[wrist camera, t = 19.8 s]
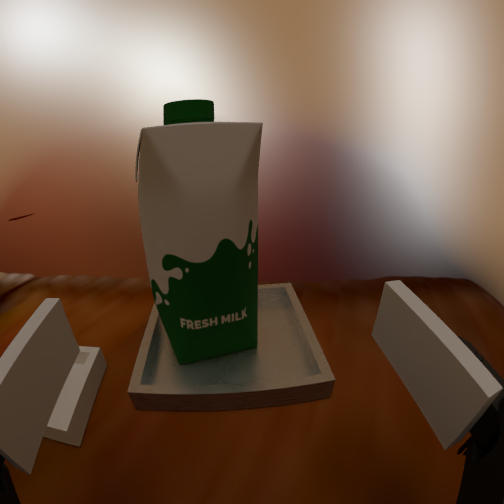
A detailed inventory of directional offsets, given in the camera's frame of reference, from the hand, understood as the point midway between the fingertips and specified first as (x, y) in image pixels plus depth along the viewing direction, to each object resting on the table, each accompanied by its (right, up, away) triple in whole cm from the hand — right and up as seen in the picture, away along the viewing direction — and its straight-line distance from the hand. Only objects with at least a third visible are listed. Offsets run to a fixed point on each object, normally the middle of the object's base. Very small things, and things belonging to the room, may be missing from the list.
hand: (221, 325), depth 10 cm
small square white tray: (-16, -9, +6) cm, 19 cm away
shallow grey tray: (-1, -6, +14) cm, 16 cm away
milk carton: (-3, -5, +15) cm, 16 cm away
